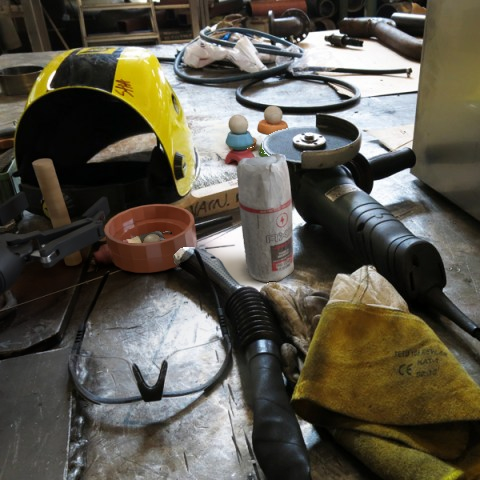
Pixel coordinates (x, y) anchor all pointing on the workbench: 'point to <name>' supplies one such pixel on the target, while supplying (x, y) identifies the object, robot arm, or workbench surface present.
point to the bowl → (148, 221)
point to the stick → (54, 200)
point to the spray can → (266, 216)
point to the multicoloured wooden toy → (242, 138)
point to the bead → (151, 238)
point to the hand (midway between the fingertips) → (65, 201)
